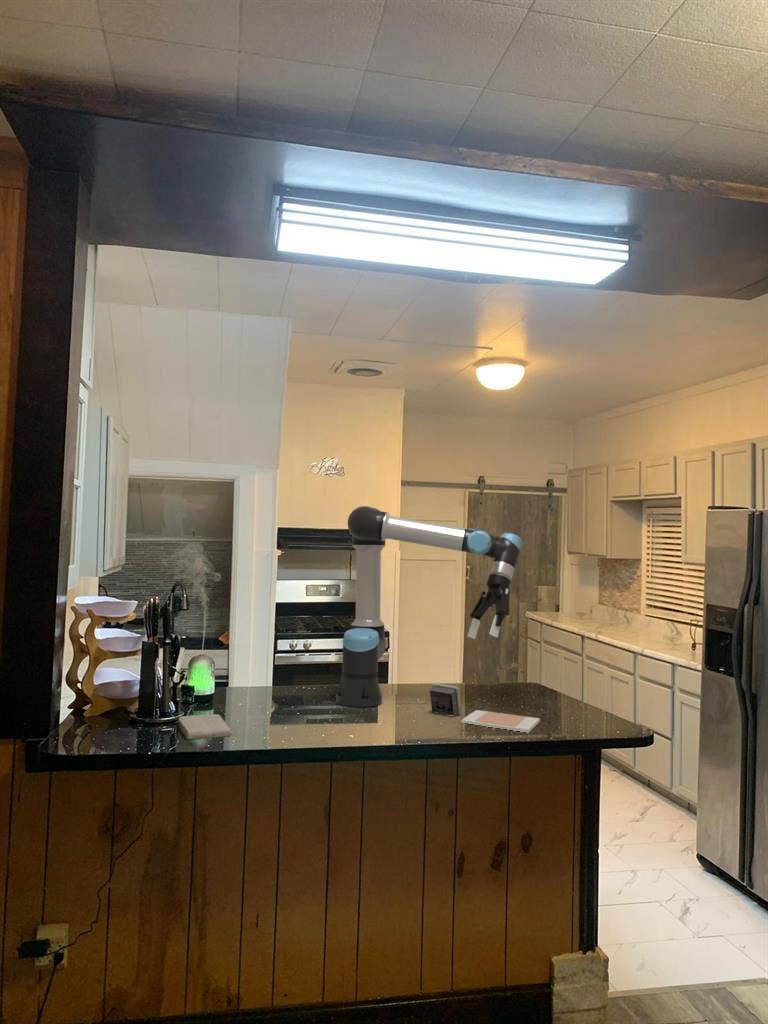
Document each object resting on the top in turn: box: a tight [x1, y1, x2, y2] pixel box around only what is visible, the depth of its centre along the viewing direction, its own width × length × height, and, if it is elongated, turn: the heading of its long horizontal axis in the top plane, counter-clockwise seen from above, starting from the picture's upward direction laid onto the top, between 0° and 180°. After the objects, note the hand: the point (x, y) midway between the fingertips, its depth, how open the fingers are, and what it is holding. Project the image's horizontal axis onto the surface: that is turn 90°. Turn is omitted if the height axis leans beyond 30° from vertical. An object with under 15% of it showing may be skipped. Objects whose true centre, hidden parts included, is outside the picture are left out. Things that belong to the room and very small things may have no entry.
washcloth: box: [178, 713, 232, 740], centre depth 196 cm, size 12×18×3 cm, turn 25°
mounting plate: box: [460, 709, 541, 734], centre depth 214 cm, size 20×15×1 cm
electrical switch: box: [429, 682, 462, 717], centre depth 223 cm, size 9×5×9 cm, turn 57°
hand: (481, 636), depth 233 cm, fingers open, 13 cm apart
